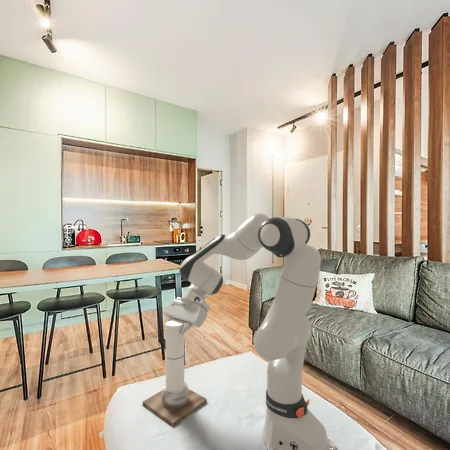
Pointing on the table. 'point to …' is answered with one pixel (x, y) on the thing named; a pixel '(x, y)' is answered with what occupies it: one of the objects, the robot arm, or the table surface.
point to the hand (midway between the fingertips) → (173, 331)
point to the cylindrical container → (174, 356)
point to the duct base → (174, 412)
